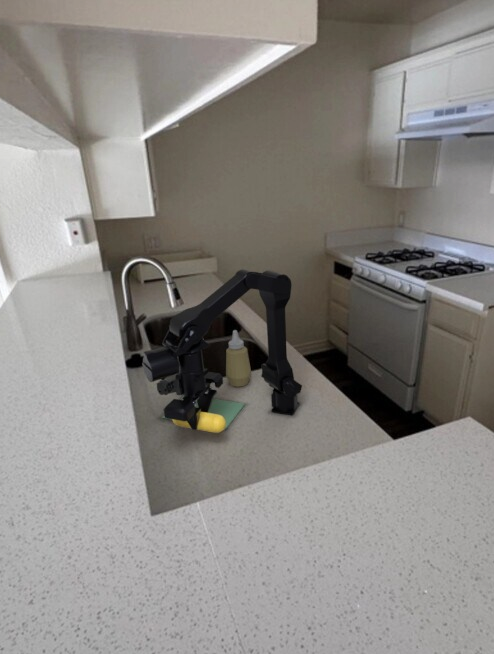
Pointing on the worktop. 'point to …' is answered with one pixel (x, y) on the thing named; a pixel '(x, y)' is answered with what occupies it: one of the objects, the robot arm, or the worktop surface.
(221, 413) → the towel
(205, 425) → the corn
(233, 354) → the squeeze bottle
